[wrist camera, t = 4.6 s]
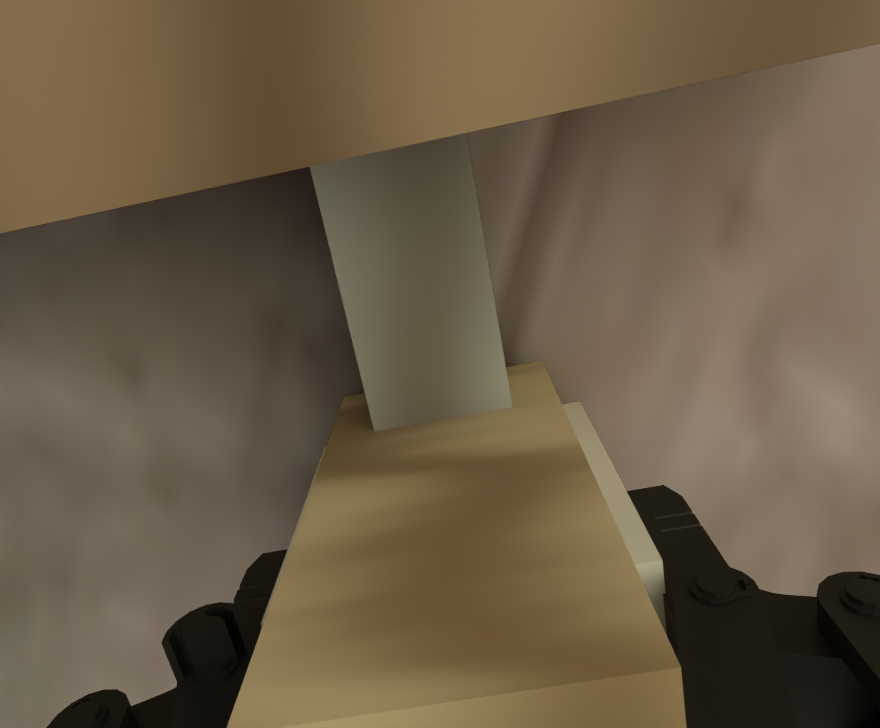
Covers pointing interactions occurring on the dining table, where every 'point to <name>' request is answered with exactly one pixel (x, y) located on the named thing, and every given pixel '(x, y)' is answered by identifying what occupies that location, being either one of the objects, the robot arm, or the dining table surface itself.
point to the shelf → (339, 80)
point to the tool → (448, 503)
